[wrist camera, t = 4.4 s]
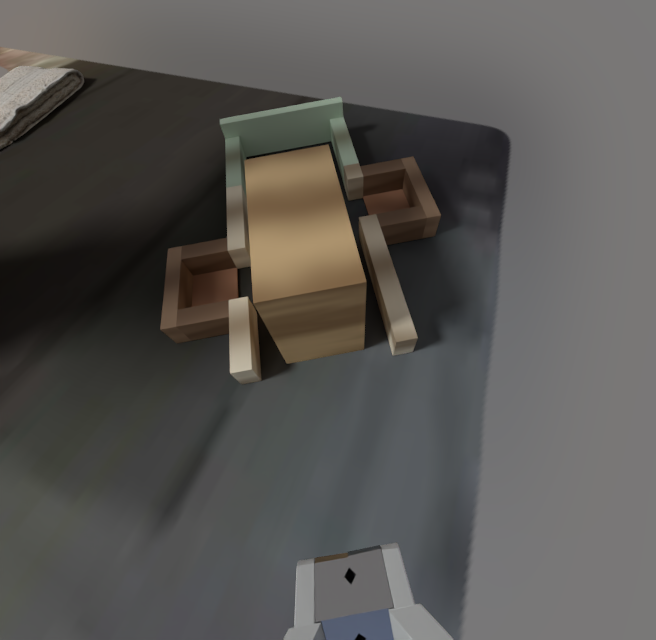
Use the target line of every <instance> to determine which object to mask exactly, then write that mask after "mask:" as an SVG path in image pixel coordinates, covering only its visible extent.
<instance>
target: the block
mask: <svg viewBox="0 0 656 640" xmlns="http://www.w3.org/2000/svg"><path fill="white" fill-rule="evenodd" d="M244 165H245V180H246V196H247V212H248V228H249V243H250V259H251V275H252V291H253V304H254V305H255V307H256V309H257V311H258V313H259V314H260V316H261V318H262V320H263V322H264V323H265V325H266V327H267V329H268V331H269V333H270V334H271V336H272V338H273V340H274V342H275V343H276V345H277V347H278V349H279V351H280V352H281V354H282V356H283V358H284V360H285V361H286V363H287V364H290V363H295V362H300V361H305V360H311V359H316V358H321V357H327V356H332V355H337V354H342V353H348V352H353V351H358V350H364V339H365V311H366V284H367V282H366V278H365V274H364V271H363V267H362V264H361V260H360V256H359V253H358V249H357V246H356V242H355V238H354V235H353V231H352V228H351V224H350V220H349V217H348V213H347V210H346V206H345V202H344V199H343V195H342V191H341V188H340V184H339V181H338V177H337V173H336V170H335V166H334V163H333V159H332V155H331V152H330V148H329V145H322V146H317V147H312V148H306V149H301V150H295V151H290V152H285V153H279V154H274V155H268V156H263V157H257V158H252V159H247V160H244Z"/></svg>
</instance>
